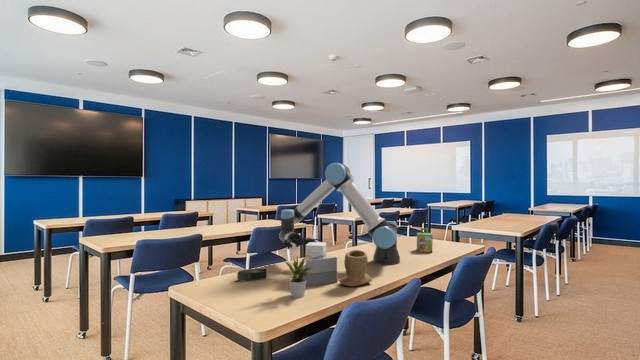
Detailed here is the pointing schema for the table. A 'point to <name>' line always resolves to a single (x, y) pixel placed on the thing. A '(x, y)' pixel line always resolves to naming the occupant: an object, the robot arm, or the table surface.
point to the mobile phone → (251, 274)
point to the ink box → (315, 250)
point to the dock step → (321, 271)
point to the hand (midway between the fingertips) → (308, 246)
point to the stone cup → (355, 269)
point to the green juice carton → (424, 241)
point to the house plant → (297, 278)
